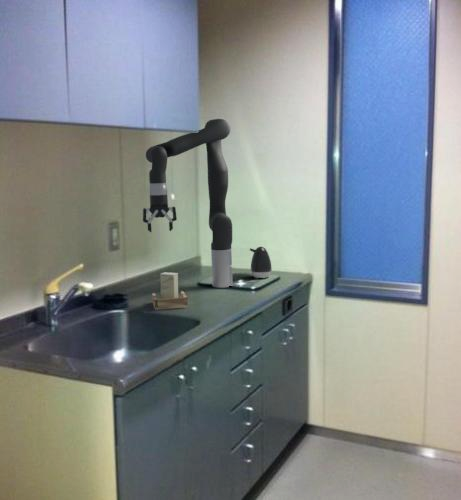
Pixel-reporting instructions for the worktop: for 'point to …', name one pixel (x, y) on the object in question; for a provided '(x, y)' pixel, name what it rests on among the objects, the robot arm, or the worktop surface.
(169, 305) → the brown wooden tray
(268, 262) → the pump dispenser
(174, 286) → the skincare box
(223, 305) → the worktop surface
